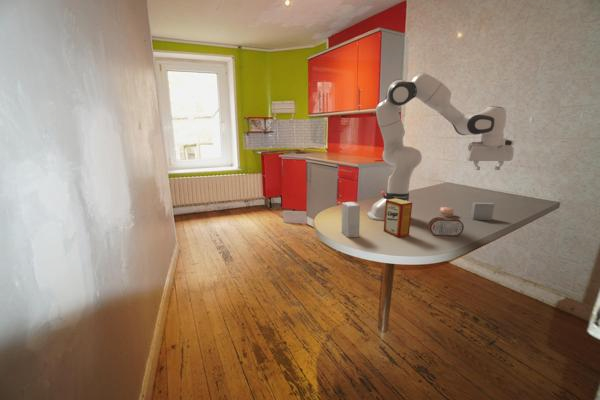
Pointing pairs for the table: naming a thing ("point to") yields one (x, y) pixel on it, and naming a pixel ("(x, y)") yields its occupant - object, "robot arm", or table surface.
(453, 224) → the tin
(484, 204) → the tile
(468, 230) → the table surface
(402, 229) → the baking soda box
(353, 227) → the skincare box
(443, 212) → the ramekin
